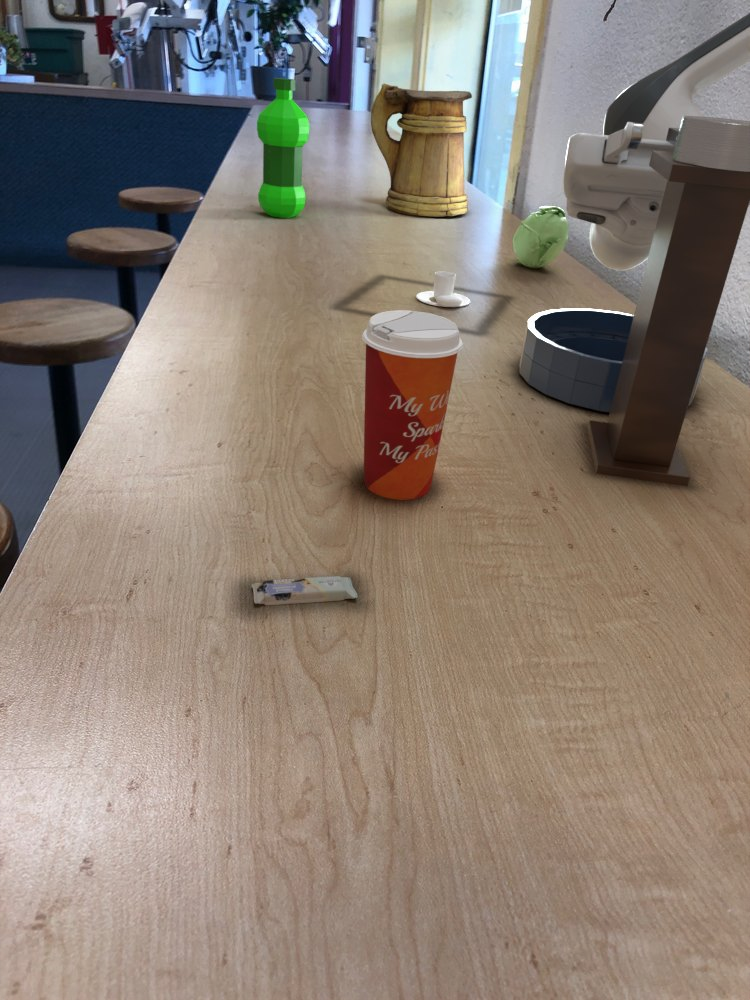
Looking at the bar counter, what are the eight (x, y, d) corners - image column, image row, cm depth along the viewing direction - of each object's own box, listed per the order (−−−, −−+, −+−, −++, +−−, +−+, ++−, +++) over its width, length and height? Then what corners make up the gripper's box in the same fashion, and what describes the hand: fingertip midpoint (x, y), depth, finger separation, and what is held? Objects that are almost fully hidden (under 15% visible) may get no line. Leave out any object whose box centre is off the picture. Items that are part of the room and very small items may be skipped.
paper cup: (391, 519, 61) (410, 346, 54) (332, 478, 66) (342, 315, 59) (462, 493, 66) (487, 330, 59) (402, 456, 71) (419, 303, 64)
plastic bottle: (287, 210, 167) (290, 77, 155) (316, 220, 160) (322, 82, 148) (247, 213, 161) (246, 75, 149) (275, 223, 155) (277, 80, 142)
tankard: (472, 221, 173) (489, 94, 161) (365, 213, 171) (374, 84, 159) (461, 206, 189) (476, 89, 176) (363, 199, 187) (371, 80, 175)
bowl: (675, 367, 98) (688, 320, 95) (708, 431, 81) (725, 376, 78) (518, 347, 100) (526, 300, 97) (518, 406, 83) (528, 351, 80)
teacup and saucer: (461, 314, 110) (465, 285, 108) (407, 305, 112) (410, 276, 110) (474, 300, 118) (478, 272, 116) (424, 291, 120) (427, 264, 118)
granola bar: (351, 583, 53) (352, 570, 53) (357, 604, 51) (358, 591, 51) (251, 589, 52) (251, 576, 51) (253, 610, 50) (253, 597, 49)
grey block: (713, 145, 76) (722, 111, 74) (781, 175, 56) (795, 129, 55) (639, 138, 76) (647, 103, 75) (681, 165, 57) (692, 119, 55)
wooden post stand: (667, 441, 78) (750, 160, 65) (686, 489, 70) (786, 175, 57) (586, 430, 79) (652, 150, 66) (595, 476, 70) (672, 163, 57)
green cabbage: (487, 264, 138) (497, 199, 133) (527, 258, 145) (537, 196, 140) (541, 281, 131) (554, 213, 125) (580, 274, 138) (594, 208, 132)
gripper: (743, 235, 85) (800, 181, 71) (551, 214, 87) (571, 158, 73) (751, 177, 85) (810, 112, 71) (560, 157, 87) (581, 90, 73)
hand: (687, 135), depth 72 cm, fingers open, 8 cm apart
